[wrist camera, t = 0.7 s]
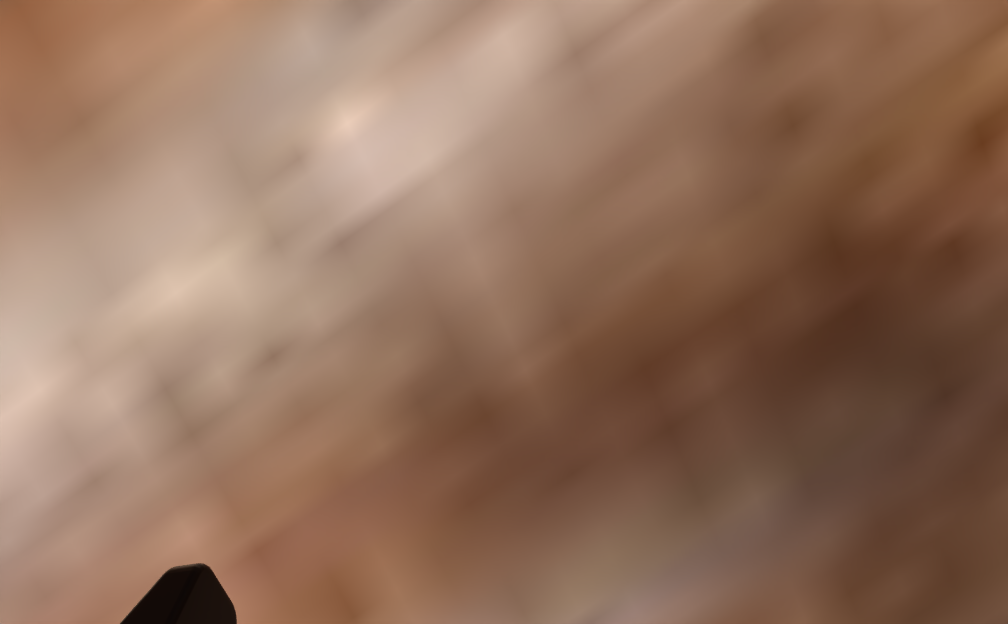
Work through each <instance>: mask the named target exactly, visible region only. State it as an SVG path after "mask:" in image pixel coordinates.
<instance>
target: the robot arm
mask: <svg viewBox="0 0 1008 624" xmlns="http://www.w3.org/2000/svg"><path fill="white" fill-rule="evenodd" d="M120 624H237V619H236V612H235V608H234V606H233V603H232V602H231V600H230V598H229V597H228V595H227V594H226V592H225V590H224V589H223V587H222V586H221V584H220V582H219V581H218V579H217V578H216V576H215V574H214V573H213V571H212V570H211V568H210V567H209V566H207V565H205V564H202V563H198V564H190V565H183V566H177V567H173V568H171V569H169V570H168V571H167V572H165V573H164V574H163V575H162V577H161V578H160V579H159V580H158V581H157V582H156V583H155V584H154V586H153V587H152V588H151V589H150V590H149V591H148V592H147V593H146V595H145V596H144V597H143V598H142V599H141V600H140V601H139V603H138V604H137V605H136V606H135V607H134V608H133V609H132V610H131V612H130V613H129V614H128V615H127V616H126V617H125V618H124V620H123V621H122V622H121V623H120Z"/></svg>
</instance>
